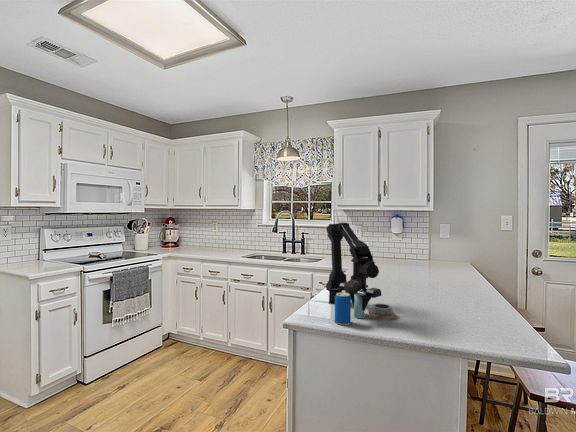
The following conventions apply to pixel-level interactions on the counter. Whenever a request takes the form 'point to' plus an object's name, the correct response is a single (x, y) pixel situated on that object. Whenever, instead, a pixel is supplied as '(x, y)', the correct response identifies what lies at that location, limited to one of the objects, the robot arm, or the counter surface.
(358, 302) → the peg
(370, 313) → the base board
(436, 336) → the counter surface
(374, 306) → the collar
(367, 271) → the robot arm
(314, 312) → the counter surface
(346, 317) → the beverage can
